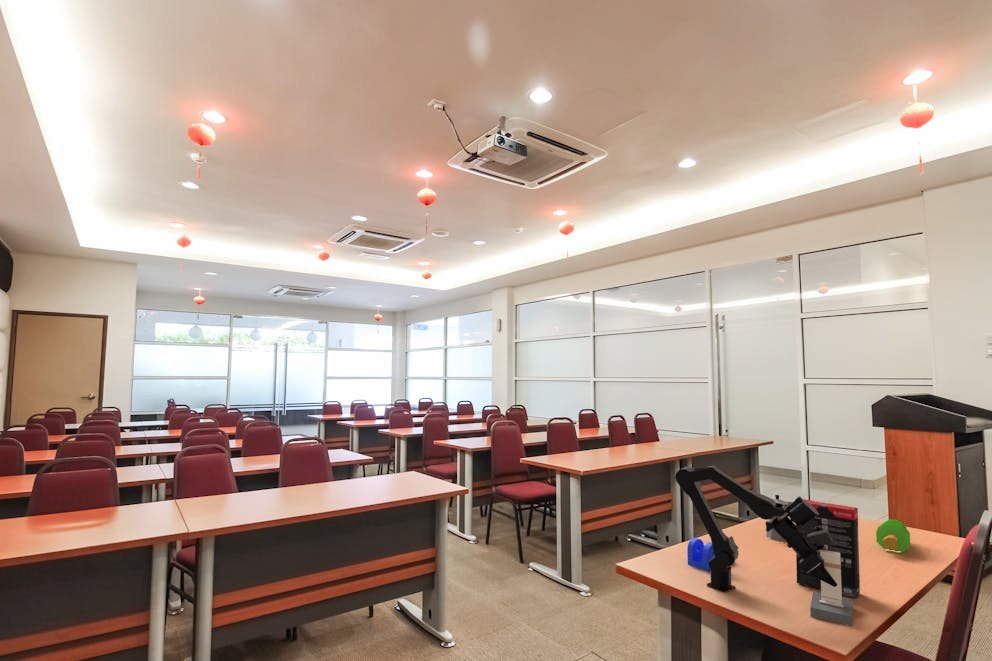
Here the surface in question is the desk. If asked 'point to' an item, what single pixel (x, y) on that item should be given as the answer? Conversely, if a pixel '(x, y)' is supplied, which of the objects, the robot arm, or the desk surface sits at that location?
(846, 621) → the base
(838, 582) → the strip
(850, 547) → the graphics card box
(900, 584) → the desk surface
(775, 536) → the coffeepot
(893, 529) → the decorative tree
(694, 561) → the bracket
